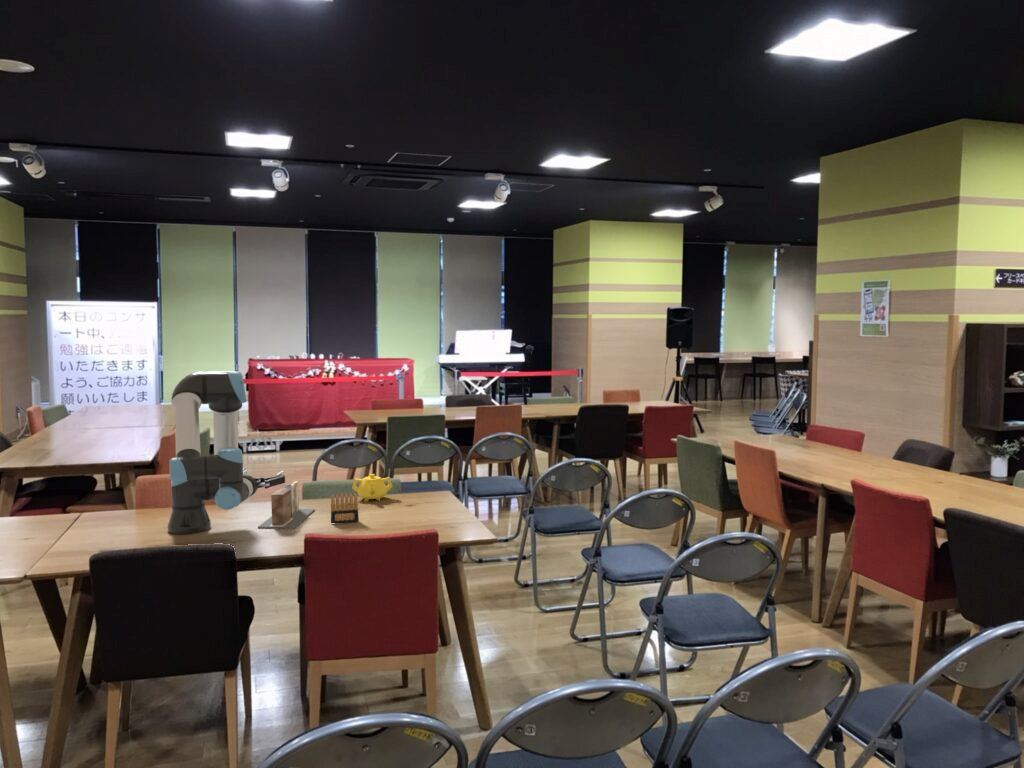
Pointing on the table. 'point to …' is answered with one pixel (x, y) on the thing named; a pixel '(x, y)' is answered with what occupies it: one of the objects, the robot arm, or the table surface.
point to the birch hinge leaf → (293, 496)
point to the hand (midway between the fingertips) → (264, 474)
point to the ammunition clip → (344, 509)
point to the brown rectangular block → (281, 507)
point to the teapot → (372, 487)
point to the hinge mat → (292, 523)
